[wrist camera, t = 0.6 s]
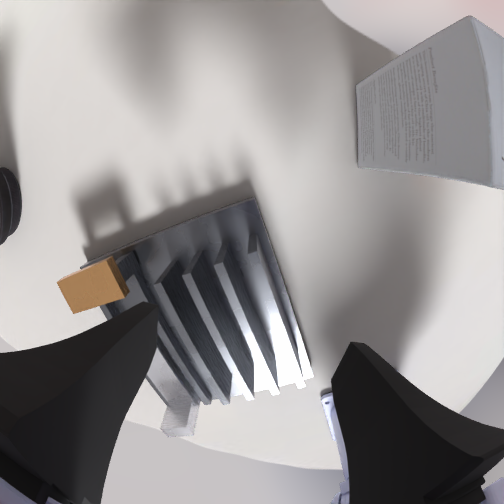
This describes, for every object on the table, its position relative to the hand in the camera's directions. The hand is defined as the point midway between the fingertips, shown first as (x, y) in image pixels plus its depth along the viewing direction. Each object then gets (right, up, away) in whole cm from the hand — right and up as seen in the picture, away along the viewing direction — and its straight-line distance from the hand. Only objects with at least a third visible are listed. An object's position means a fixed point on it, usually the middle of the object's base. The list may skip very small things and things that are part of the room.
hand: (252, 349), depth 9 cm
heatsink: (-4, -2, +11) cm, 12 cm away
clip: (-7, -6, +11) cm, 14 cm away
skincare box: (+9, +12, +6) cm, 16 cm away
